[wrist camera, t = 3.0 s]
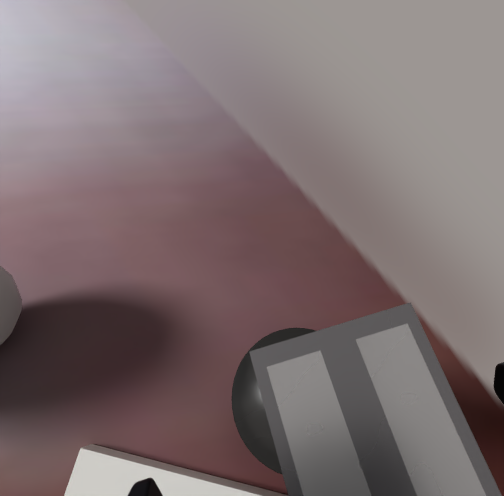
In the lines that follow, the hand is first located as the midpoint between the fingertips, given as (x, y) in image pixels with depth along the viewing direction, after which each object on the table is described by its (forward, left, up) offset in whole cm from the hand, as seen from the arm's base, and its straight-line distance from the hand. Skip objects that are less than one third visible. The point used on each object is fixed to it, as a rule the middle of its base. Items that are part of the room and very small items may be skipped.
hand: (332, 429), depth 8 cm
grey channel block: (0, 0, -8) cm, 8 cm away
